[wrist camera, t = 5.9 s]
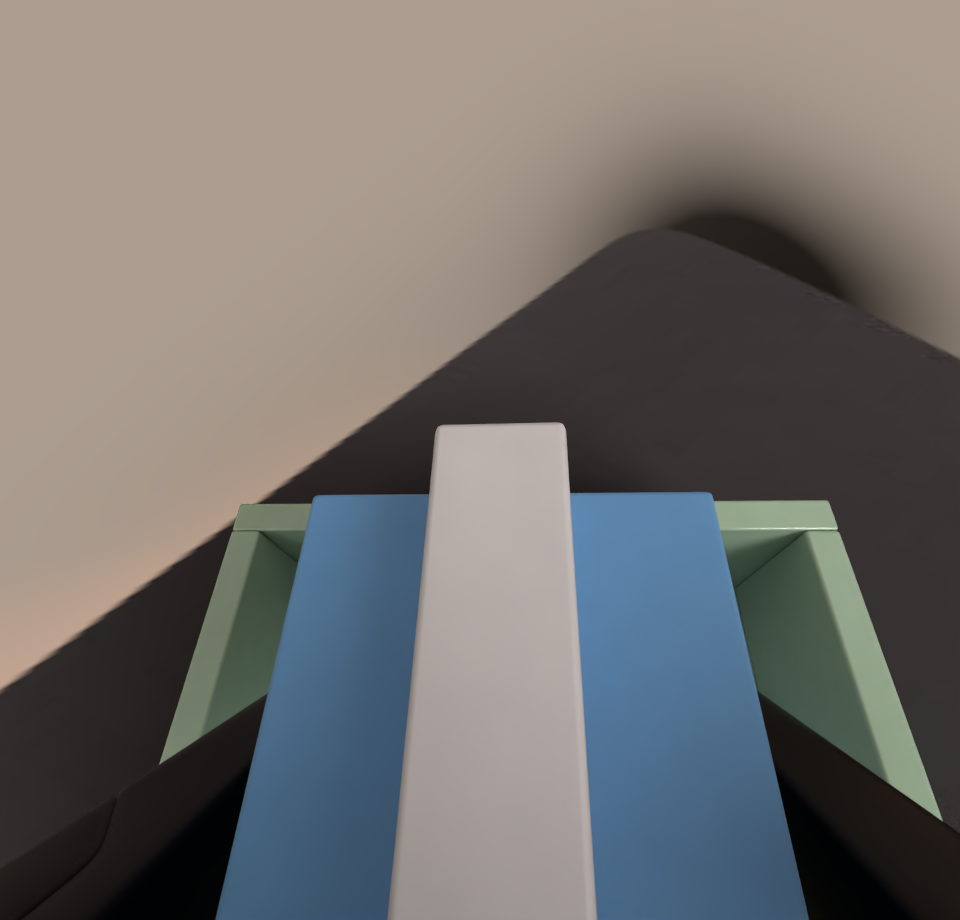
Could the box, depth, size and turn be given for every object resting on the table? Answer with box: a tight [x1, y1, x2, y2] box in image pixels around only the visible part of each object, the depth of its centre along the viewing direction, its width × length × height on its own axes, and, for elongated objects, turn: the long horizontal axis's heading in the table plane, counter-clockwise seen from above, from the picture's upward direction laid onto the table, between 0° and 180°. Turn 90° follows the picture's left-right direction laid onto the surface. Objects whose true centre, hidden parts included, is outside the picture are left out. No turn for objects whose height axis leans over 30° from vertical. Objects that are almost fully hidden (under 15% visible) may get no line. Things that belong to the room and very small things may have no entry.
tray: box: [159, 500, 943, 821], centre depth 9 cm, size 15×13×5 cm
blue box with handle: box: [215, 423, 809, 920], centre depth 7 cm, size 6×4×11 cm
